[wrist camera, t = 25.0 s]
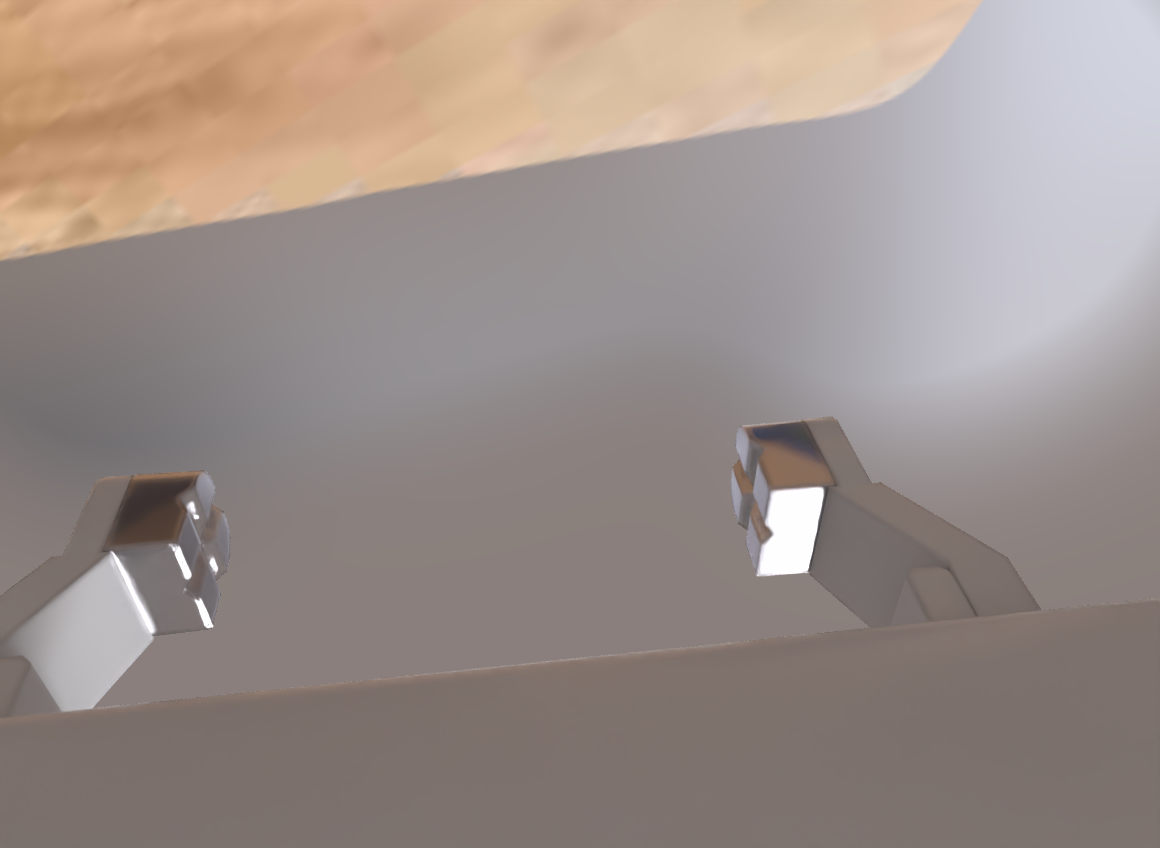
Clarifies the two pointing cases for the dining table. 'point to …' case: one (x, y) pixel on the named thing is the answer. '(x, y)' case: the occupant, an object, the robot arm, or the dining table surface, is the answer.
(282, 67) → the dining table surface
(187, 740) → the robot arm
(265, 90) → the dining table surface
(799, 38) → the dining table surface
